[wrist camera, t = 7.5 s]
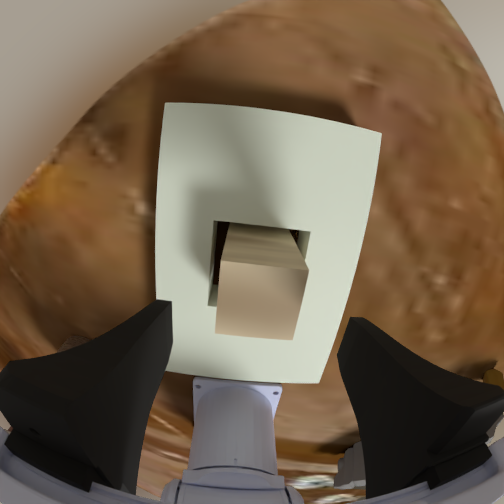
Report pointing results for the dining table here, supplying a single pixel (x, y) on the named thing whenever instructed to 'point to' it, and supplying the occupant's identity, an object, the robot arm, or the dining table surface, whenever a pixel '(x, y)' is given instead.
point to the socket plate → (258, 213)
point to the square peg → (260, 283)
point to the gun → (353, 461)
